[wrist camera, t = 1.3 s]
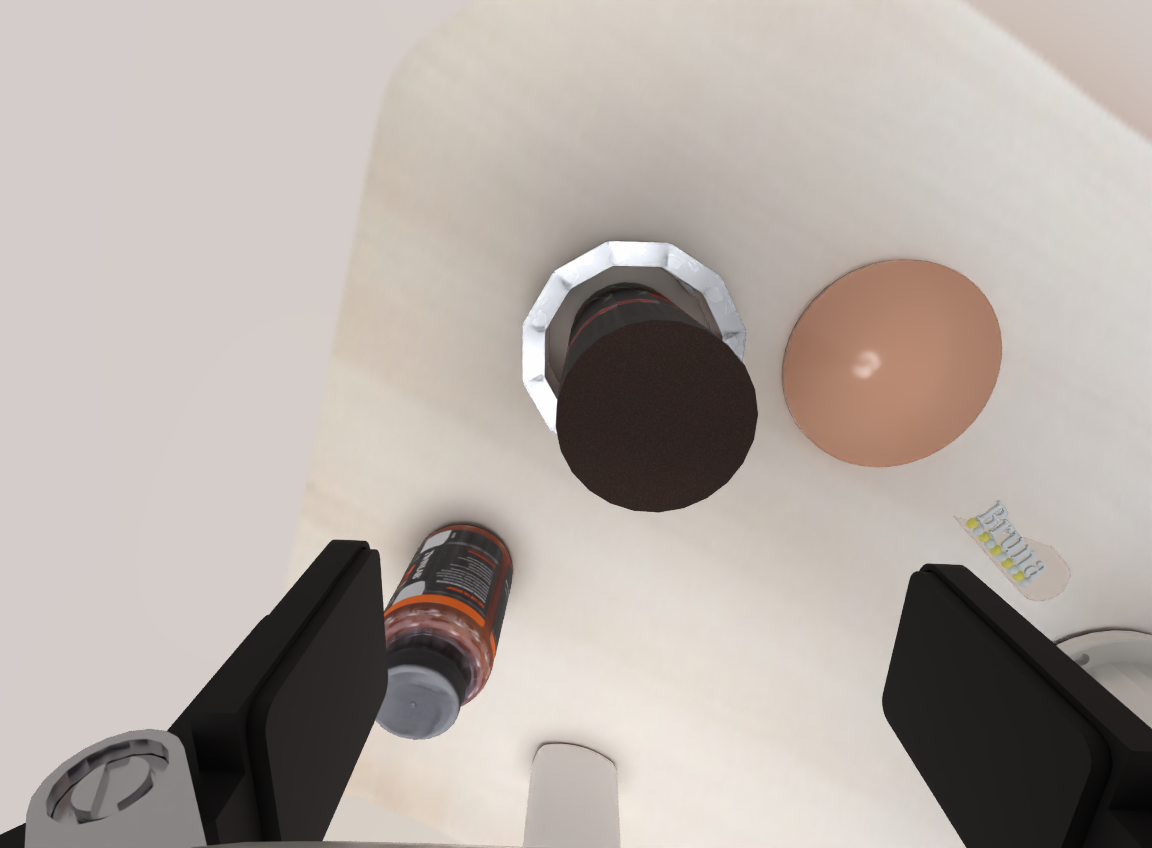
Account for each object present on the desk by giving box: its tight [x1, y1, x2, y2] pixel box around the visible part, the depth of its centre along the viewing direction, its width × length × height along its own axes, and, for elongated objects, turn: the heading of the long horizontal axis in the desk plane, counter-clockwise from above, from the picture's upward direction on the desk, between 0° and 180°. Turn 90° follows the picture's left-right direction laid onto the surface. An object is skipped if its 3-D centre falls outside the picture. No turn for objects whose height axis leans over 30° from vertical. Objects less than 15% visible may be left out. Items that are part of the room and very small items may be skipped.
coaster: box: [782, 260, 1002, 467], centre depth 32 cm, size 11×11×1 cm
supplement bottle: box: [375, 525, 513, 740], centre depth 31 cm, size 6×6×11 cm
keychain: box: [954, 500, 1070, 601], centre depth 35 cm, size 10×1×3 cm
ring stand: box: [523, 241, 746, 434], centre depth 29 cm, size 10×10×5 cm
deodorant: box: [556, 283, 758, 512], centre depth 25 cm, size 6×6×15 cm
